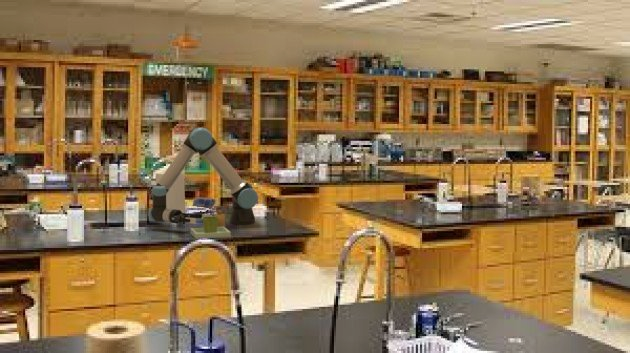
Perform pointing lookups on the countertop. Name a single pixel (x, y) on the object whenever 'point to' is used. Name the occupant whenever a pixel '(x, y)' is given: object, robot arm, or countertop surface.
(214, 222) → the plant pot
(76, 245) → the countertop surface
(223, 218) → the reagent bottle
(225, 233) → the tray
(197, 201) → the mineral
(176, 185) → the cylinder
